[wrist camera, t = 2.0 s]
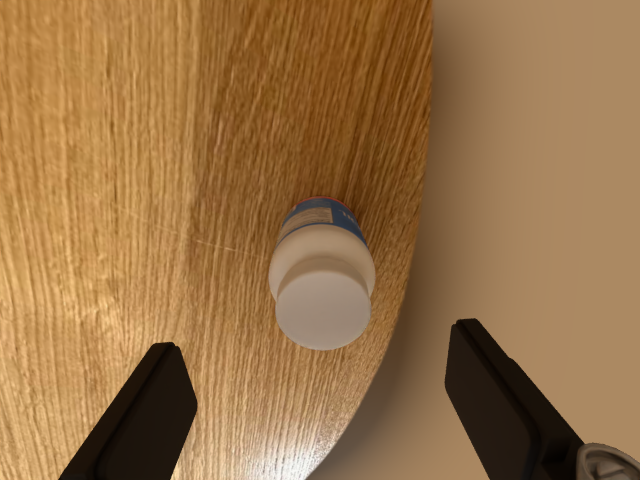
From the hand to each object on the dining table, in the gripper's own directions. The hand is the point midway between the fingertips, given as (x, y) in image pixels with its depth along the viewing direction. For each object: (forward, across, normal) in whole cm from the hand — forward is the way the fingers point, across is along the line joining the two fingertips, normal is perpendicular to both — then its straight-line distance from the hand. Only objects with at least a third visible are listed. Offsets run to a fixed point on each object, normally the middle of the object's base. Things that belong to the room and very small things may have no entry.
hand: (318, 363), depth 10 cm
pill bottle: (+12, 0, 0) cm, 12 cm away
